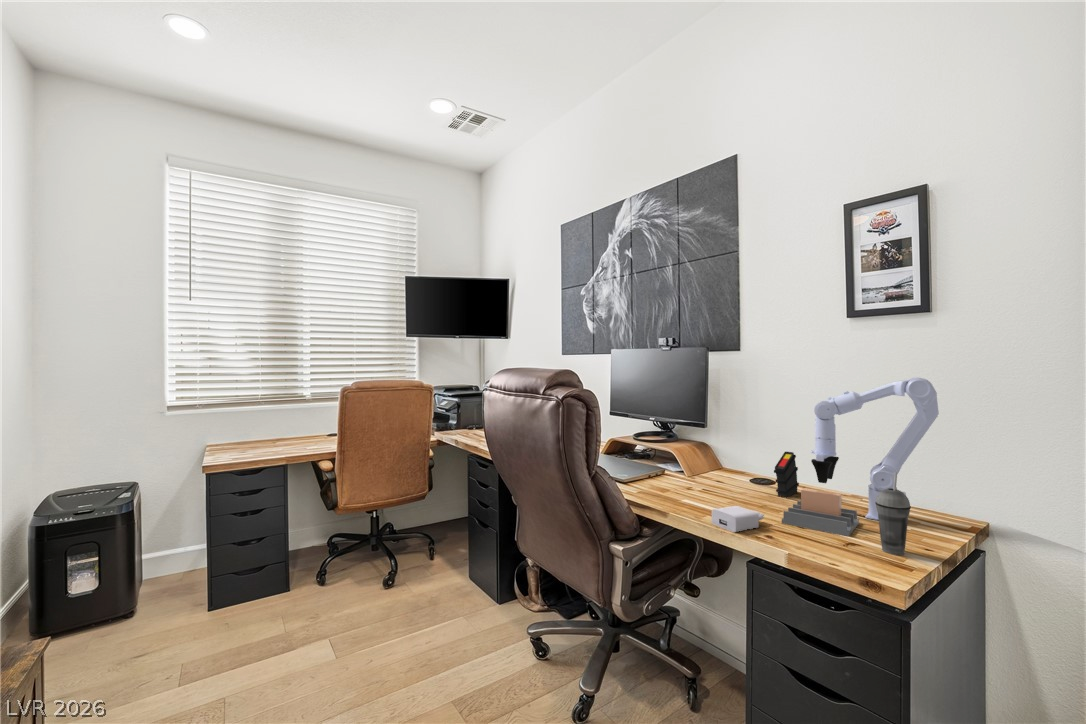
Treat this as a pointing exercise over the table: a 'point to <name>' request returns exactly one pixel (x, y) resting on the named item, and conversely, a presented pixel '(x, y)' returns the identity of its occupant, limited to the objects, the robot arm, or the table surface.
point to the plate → (821, 502)
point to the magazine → (786, 475)
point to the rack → (822, 520)
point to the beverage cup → (893, 519)
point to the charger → (736, 518)
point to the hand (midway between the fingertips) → (825, 480)
